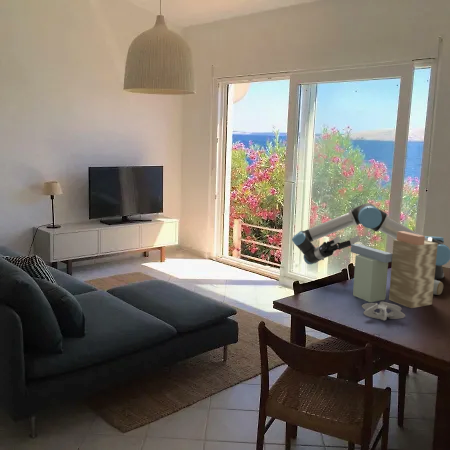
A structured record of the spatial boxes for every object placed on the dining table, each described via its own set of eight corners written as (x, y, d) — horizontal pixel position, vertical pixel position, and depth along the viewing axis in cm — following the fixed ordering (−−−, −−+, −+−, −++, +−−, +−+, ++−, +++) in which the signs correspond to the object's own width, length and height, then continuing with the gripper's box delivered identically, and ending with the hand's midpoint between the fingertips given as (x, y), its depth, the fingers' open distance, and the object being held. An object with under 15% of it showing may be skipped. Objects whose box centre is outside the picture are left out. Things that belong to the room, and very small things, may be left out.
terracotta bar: (396, 239, 253) (397, 231, 252) (402, 239, 255) (403, 231, 254) (417, 245, 242) (418, 236, 241) (424, 244, 244) (424, 235, 243)
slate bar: (350, 252, 268) (351, 244, 267) (356, 251, 270) (357, 243, 269) (385, 262, 247) (385, 254, 246) (391, 261, 249) (392, 253, 248)
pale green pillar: (352, 295, 264) (355, 255, 260) (368, 292, 269) (370, 253, 265) (369, 302, 254) (372, 260, 250) (385, 299, 258) (388, 258, 255)
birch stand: (409, 296, 265) (414, 237, 259) (432, 304, 253) (437, 243, 247) (388, 299, 258) (393, 239, 253) (411, 308, 246) (416, 245, 241)
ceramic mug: (437, 297, 264) (439, 282, 263) (421, 293, 270) (423, 278, 269) (445, 293, 272) (447, 278, 271) (430, 289, 277) (431, 275, 276)
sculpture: (369, 307, 246) (370, 294, 245) (411, 317, 234) (413, 304, 233) (352, 317, 233) (353, 303, 232) (396, 328, 221) (398, 314, 219)
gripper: (343, 255, 295) (368, 244, 277) (307, 259, 283) (331, 247, 265) (339, 243, 297) (364, 230, 279) (304, 245, 285) (328, 233, 268)
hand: (348, 238), depth 272 cm, fingers open, 13 cm apart
